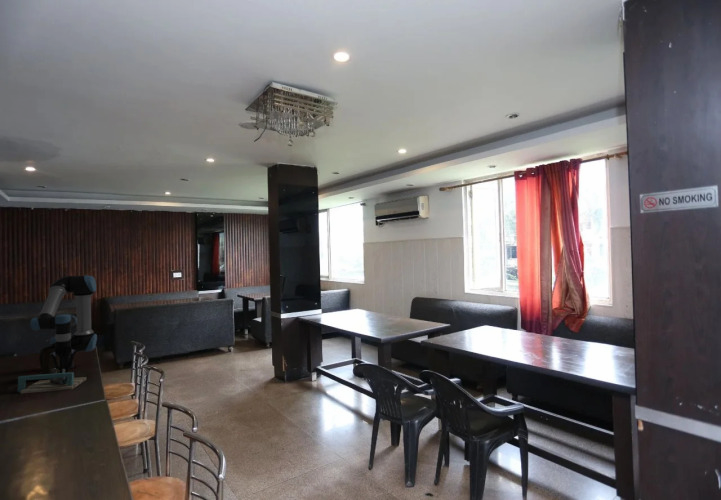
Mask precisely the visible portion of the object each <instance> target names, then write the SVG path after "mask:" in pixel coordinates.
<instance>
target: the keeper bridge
mask: <svg viewBox="0 0 721 500" xmlns="http://www.w3.org/2000/svg"><path fill="white" fill-rule="evenodd" d="M62 377H65V378H67V386H70V385H73V384H74V378H75V372H73V371H72V372H67V373H55V374H42V375H41V374H30V375H20V376H18V377H17V393H20V392H21V390H23V389H25V388H27V386H26V385H27V384H26V382H27V381H33V380H41V379H49V378H62Z"/></svg>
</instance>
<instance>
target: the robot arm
mask: <svg viewBox="0 0 721 500" xmlns="http://www.w3.org/2000/svg"><path fill="white" fill-rule="evenodd" d="M96 291H97V282H96V279H95V278H94V276H93V275H65V276H63V277H60V278H58V279H57V280H55V281H54V282H53V283H52V284H51V286H49V289H48V296H47V298H46V299H45V301H44V304H43V306H42V309H41V310H40V312H39V315H38V317H37V316H36V317H32V318H31V320H30V329H31V330H32V331H41V330H55V331H54V332H55V333H54V334H55V336H52V337H51V338H50V340H49V341H50V342H49V347H51V346H55V351H54V352H53V353H52V354H50V356H51V357H52V359H53V362H54V365H55V368H56V369H59V373H68V370H71V369H73V368H74V367H75V364H74V361H73V360H74V358H75V355H76V354H77V353H82V352H83V353H84V352H85V353H87V352H92V351H94V350H95V348H96V345H97V341H98V335H97V333H95V332H94V330H93V329H92V299H91V298H92V296H93V295H94V293H95V292H96ZM67 293H70V294H71V293H72V295H73V296H74V298H75V306H76V307H75V311H76V314H75V315H76V316H75V315H72V314H68V313H66V314H64V313H63V314H57V310H58V308H59V306H60V303H61V302H62V300H63V297H64V296H66V294H67ZM56 314H57V315H56ZM75 325H76V331H75V332H74V333H73V335H72V331H71V330H72V328H73V327H74V326H75ZM55 353H56V354H57V355H58V356H59V367H58V364H57V361H56V358H55ZM64 378H66V377H64Z"/></svg>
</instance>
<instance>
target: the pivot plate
mask: <svg viewBox="0 0 721 500" xmlns="http://www.w3.org/2000/svg"><path fill="white" fill-rule="evenodd" d="M57 370H58V369H56V368H54V369H51V371H53V374H55V373H57ZM86 380H87V377H86V376H85V377H74V384H73V385H70V386H67V384H63V385H60V384H57V383H54V382H50V380H38V381H36V382H35V383H32V384H31V385H29V386H26V387H25V389H23V390H21V392H19V393H20V394H21V395H22V394H31V393H43V392H54V391H69V390H73V389H75V388H76V387H77V386H79V385H81V384H82V383H83V382H85V381H86Z"/></svg>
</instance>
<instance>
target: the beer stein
mask: <svg viewBox="0 0 721 500" xmlns="http://www.w3.org/2000/svg"><path fill="white" fill-rule="evenodd" d="M54 351H55V346H51V347H50V346H47V347H46V346H45V347H43V348H42V349H40V353H39V356H38V357H39V359H38V360H39V365H40V370H39V371H40V373H41V374H40V375H42V374H53V371H51V369H54V368H55V365H54V362H53V359H52V357H51V356H50V354H52V353H53V352H54ZM55 358H56V361H57V364H58V367H59V356H58V355H57V354H56V353H55ZM57 373H59V369H58V370H57ZM43 380H50V378H49V379H40V381H43Z"/></svg>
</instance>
